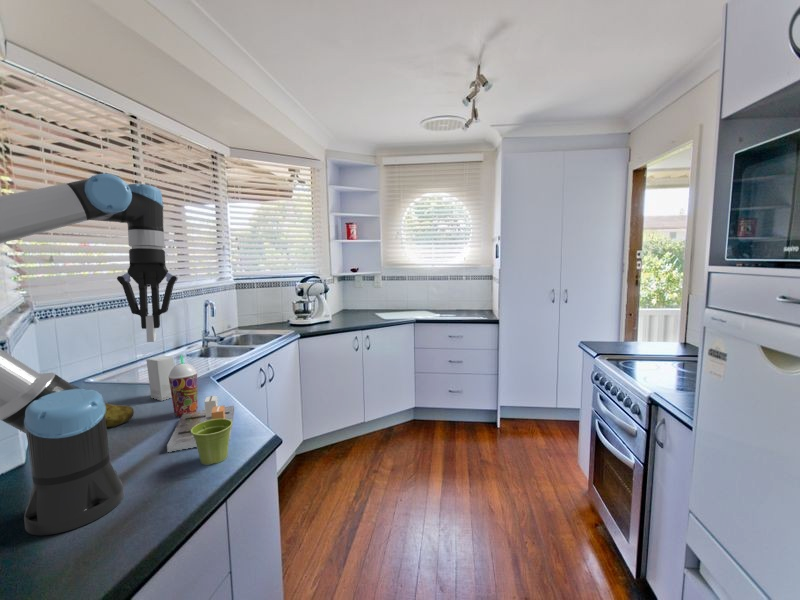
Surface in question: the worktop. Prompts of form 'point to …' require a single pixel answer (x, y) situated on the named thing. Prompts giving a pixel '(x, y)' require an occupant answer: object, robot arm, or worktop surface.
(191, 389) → the smoothie
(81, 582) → the worktop surface
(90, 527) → the worktop surface
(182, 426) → the console
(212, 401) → the fader far
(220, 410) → the fader near
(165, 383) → the skincare box
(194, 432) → the plant pot
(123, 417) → the potato
